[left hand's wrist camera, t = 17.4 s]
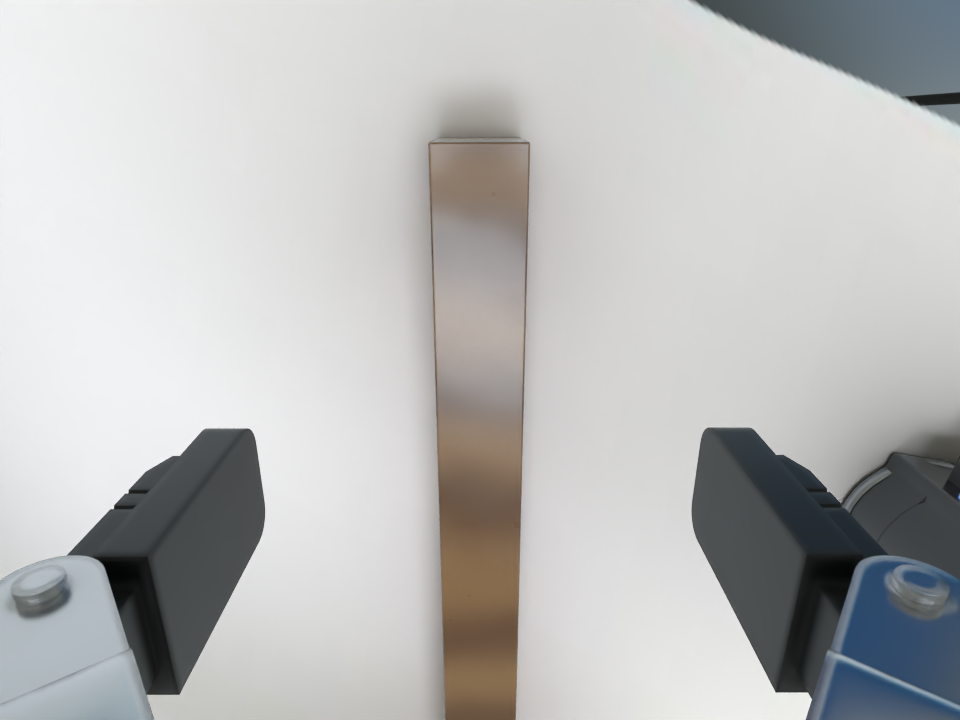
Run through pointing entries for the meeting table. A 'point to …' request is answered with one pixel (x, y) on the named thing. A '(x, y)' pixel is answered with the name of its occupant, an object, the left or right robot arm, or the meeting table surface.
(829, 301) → the meeting table surface
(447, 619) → the beam
